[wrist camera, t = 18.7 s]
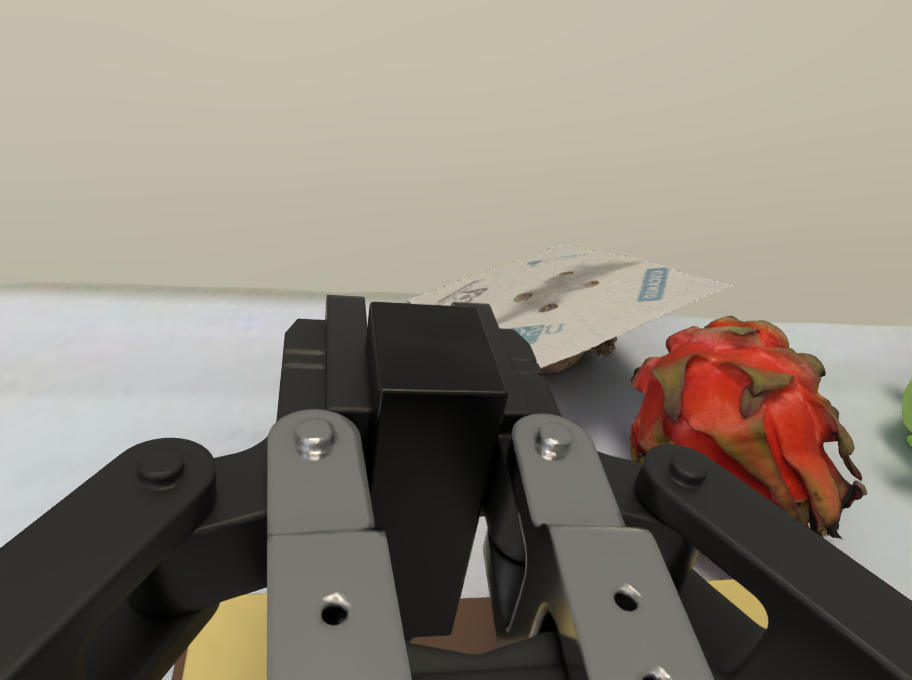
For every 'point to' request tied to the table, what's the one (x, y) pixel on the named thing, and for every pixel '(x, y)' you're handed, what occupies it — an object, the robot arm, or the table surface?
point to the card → (575, 299)
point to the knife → (430, 449)
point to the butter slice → (231, 642)
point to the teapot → (907, 410)
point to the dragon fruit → (749, 416)
